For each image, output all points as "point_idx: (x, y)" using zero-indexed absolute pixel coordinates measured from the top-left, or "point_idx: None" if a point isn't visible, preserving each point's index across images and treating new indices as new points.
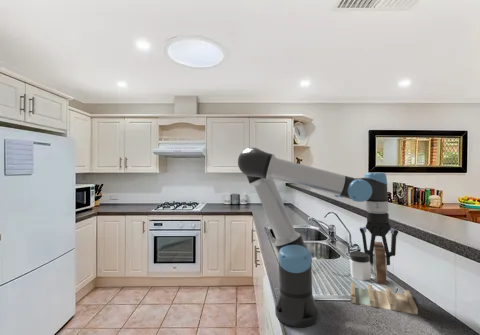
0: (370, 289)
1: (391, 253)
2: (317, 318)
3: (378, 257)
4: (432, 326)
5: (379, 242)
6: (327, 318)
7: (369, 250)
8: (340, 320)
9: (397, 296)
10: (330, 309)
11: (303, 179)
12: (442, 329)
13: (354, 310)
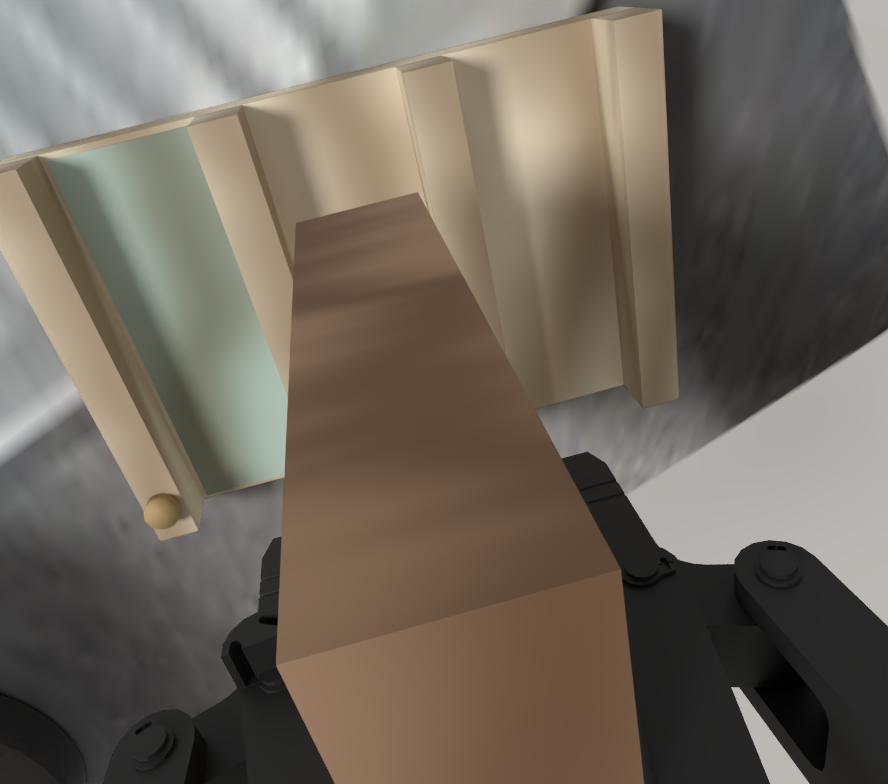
0: (260, 263)
1: (743, 672)
2: (77, 766)
3: None
4: (714, 401)
5: (527, 645)
6: (114, 698)
7: (254, 750)
8: (193, 670)
9: (518, 119)
10: (64, 608)
11: None
12: (763, 399)
13: (219, 519)
